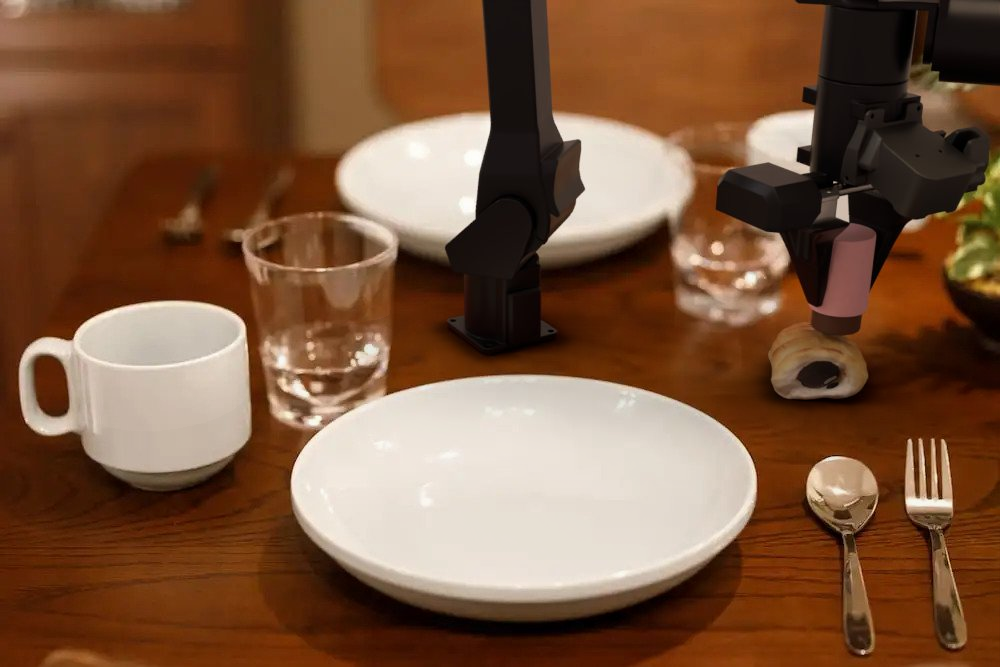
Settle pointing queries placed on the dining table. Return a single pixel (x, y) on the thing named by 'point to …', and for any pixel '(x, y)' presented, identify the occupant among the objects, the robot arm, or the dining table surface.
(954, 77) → the robot arm
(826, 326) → the bottle
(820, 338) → the pastry
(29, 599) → the dining table surface
